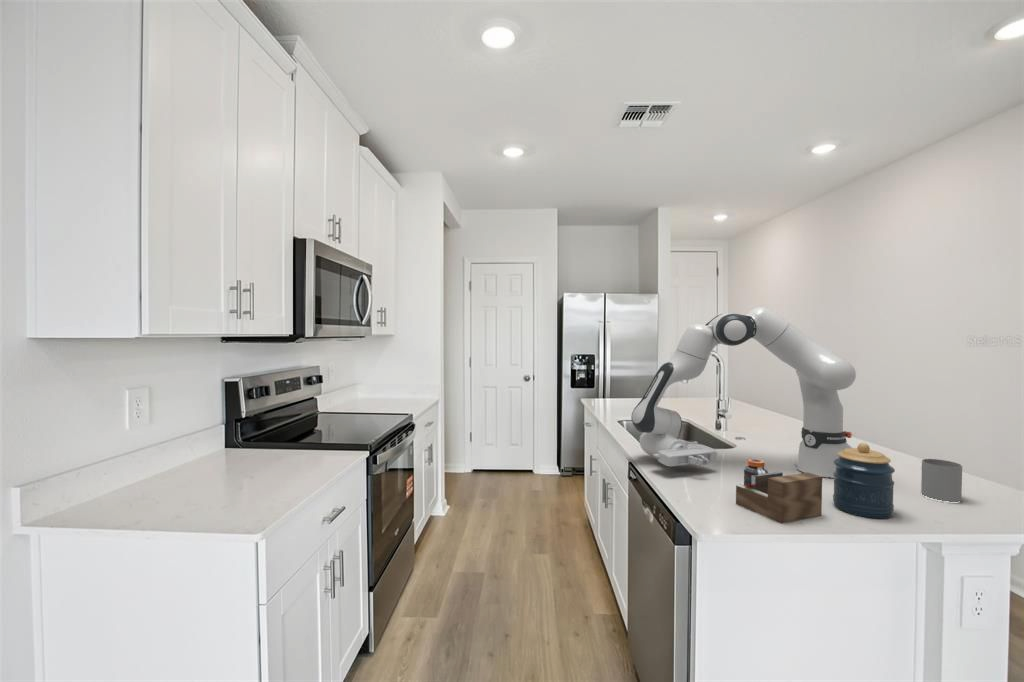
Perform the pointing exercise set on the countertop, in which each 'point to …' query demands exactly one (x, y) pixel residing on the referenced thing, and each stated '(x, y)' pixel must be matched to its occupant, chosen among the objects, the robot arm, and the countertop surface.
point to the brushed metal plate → (762, 481)
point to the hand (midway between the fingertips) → (704, 462)
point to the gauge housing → (785, 497)
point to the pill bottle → (753, 470)
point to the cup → (941, 480)
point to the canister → (863, 482)
